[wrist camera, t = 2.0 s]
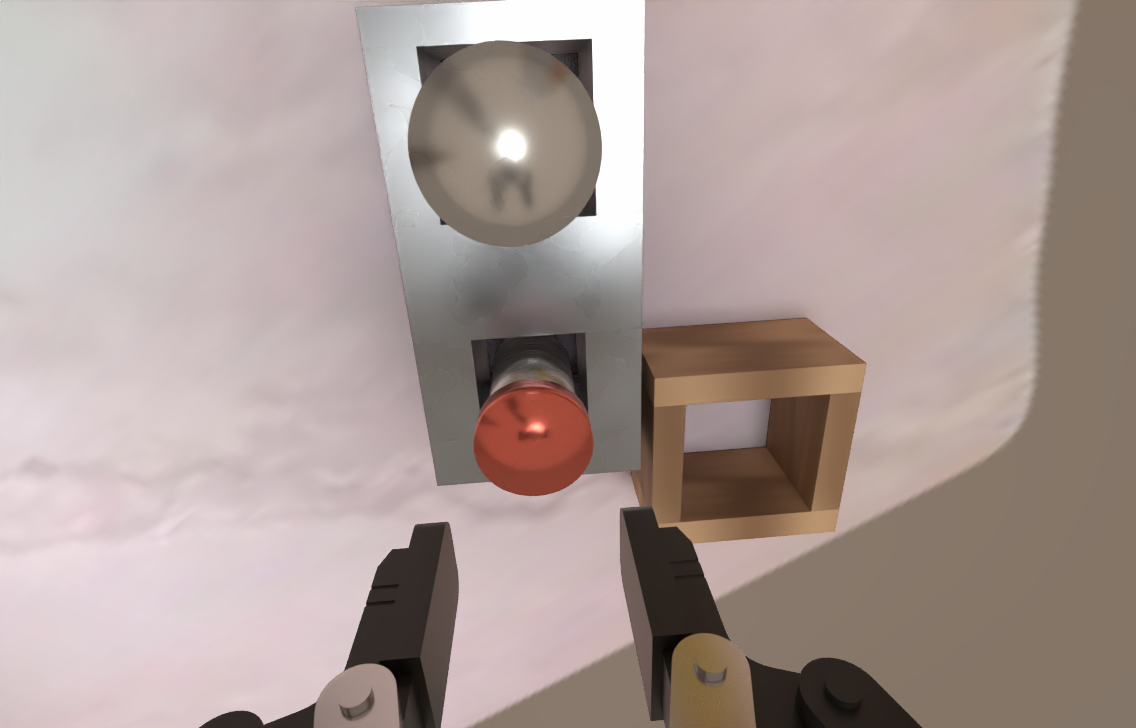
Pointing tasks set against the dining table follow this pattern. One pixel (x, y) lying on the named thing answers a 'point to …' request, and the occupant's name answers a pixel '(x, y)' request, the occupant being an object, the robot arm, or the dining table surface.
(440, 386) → the socket block
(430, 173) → the gray round-topped cylinder
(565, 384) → the copper-capped cylinder
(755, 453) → the wooden hollow square frame
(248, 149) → the dining table surface
